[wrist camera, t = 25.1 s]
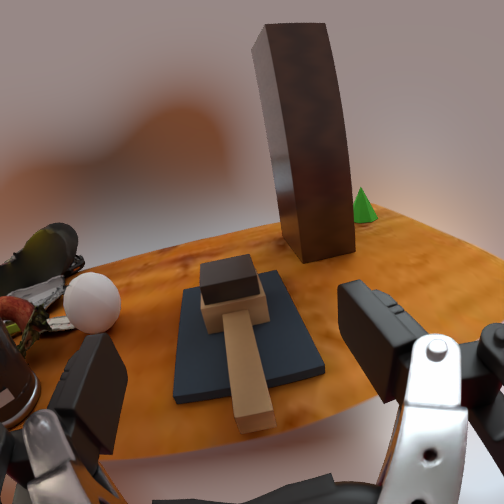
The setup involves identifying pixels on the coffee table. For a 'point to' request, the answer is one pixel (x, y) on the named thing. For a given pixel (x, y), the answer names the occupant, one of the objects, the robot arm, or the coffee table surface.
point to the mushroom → (25, 319)
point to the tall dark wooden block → (306, 138)
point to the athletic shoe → (39, 258)
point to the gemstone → (363, 209)
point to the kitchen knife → (13, 328)
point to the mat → (267, 339)
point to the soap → (59, 323)
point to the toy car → (75, 265)
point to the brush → (239, 335)
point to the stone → (41, 293)
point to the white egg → (92, 303)
